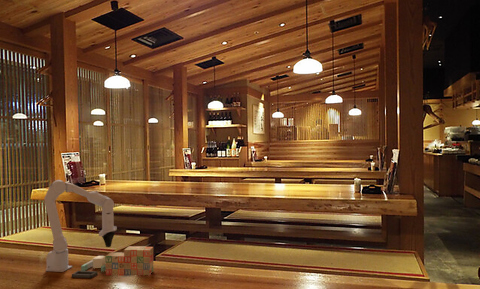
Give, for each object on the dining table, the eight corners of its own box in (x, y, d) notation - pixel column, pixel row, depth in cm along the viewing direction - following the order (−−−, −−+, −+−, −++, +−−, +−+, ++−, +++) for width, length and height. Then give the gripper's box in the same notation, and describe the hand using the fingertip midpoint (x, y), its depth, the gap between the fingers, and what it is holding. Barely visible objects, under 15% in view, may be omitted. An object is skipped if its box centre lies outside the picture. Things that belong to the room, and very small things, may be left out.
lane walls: (81, 270, 185) (81, 265, 185) (92, 264, 195) (92, 259, 195) (103, 272, 183) (103, 266, 183) (114, 265, 193) (114, 260, 193)
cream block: (92, 268, 189) (92, 258, 189) (98, 265, 194) (98, 255, 194) (102, 268, 188) (102, 258, 188) (107, 265, 193) (107, 256, 193)
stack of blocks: (105, 275, 178) (104, 249, 178) (110, 271, 185) (110, 246, 185) (149, 276, 177) (149, 249, 177) (153, 271, 183) (153, 246, 183)
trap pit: (71, 277, 176) (71, 274, 176) (78, 273, 181) (78, 270, 181) (91, 278, 175) (91, 275, 175) (97, 274, 179) (97, 271, 179)
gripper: (107, 223, 191) (108, 250, 191) (121, 218, 205) (122, 243, 206) (94, 223, 192) (95, 250, 193) (109, 218, 207) (110, 243, 207)
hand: (108, 246), depth 199 cm, fingers closed
